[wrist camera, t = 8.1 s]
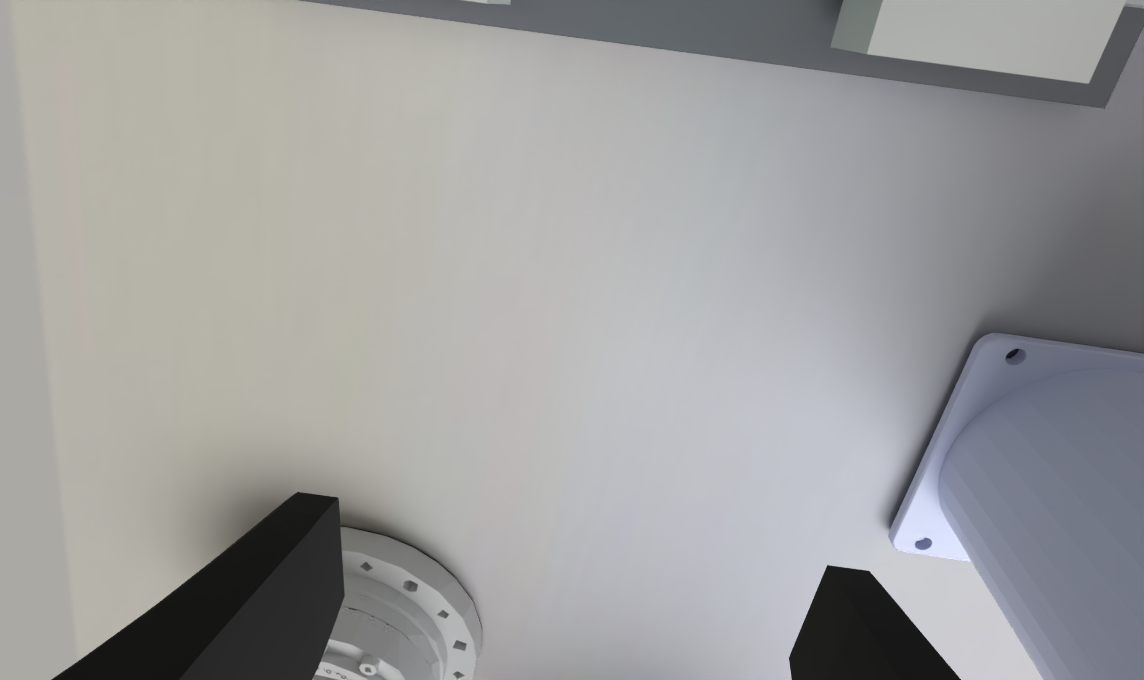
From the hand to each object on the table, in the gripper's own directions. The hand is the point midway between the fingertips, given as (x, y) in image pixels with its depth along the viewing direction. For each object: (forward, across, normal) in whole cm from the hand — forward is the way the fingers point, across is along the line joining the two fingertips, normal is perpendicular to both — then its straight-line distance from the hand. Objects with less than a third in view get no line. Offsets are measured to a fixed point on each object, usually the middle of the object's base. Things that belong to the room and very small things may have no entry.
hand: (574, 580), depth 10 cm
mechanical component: (+11, +8, +15) cm, 20 cm away
